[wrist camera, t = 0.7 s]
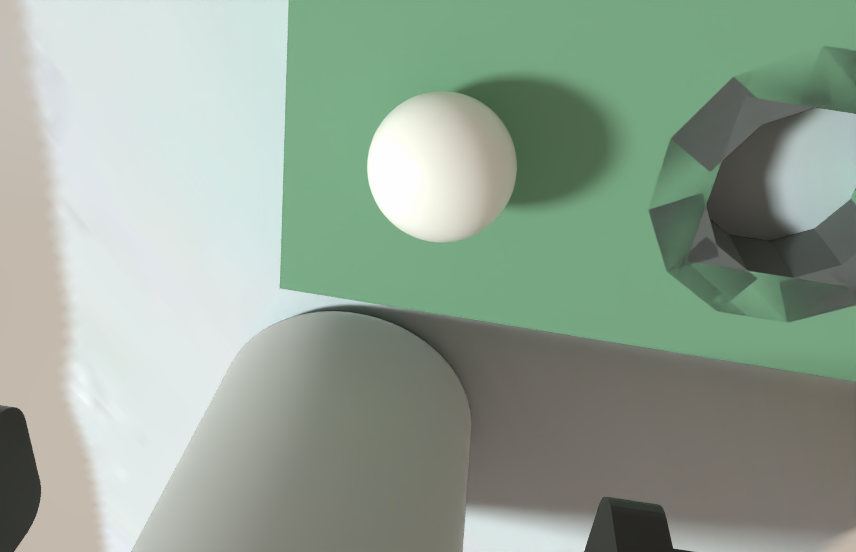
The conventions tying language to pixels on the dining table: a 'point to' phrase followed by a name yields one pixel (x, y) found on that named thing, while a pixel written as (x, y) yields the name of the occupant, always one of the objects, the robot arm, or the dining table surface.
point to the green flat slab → (580, 168)
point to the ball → (442, 166)
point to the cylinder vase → (324, 447)
